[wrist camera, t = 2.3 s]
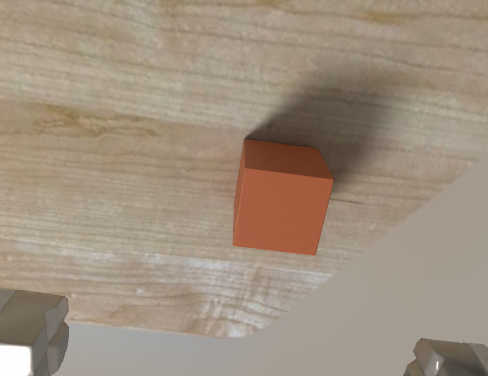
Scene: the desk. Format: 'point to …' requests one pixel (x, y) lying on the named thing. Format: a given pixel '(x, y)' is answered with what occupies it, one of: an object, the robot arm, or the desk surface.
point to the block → (281, 197)
